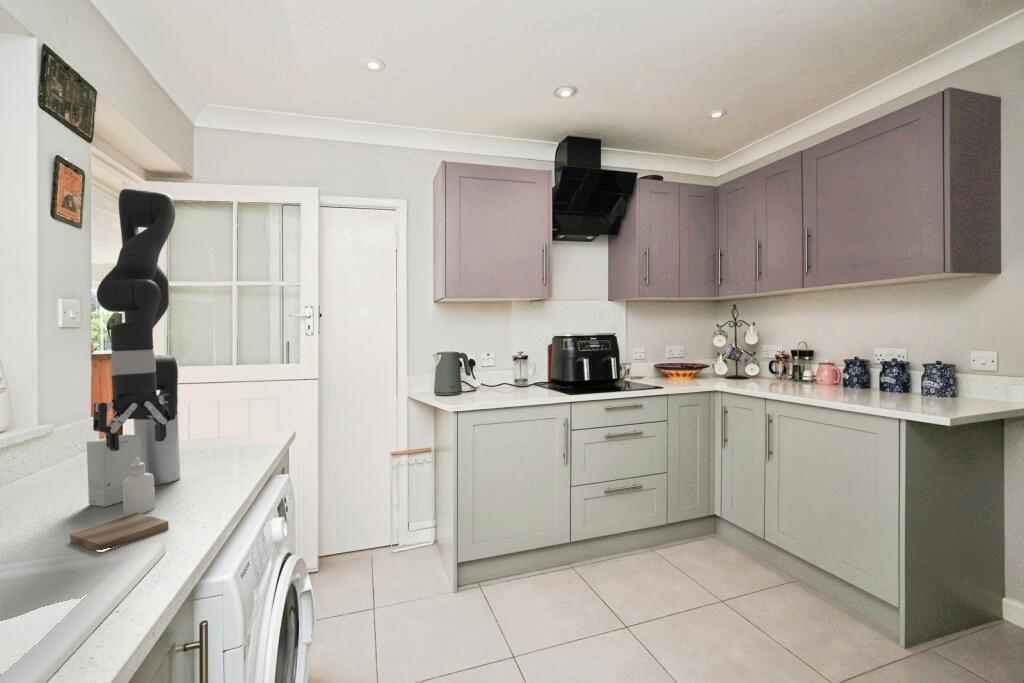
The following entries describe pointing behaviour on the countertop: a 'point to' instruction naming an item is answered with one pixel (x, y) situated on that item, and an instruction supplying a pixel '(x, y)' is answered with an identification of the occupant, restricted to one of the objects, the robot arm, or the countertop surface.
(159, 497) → the countertop surface
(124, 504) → the eye dropper bottle
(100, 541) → the walnut board
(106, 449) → the skincare box
